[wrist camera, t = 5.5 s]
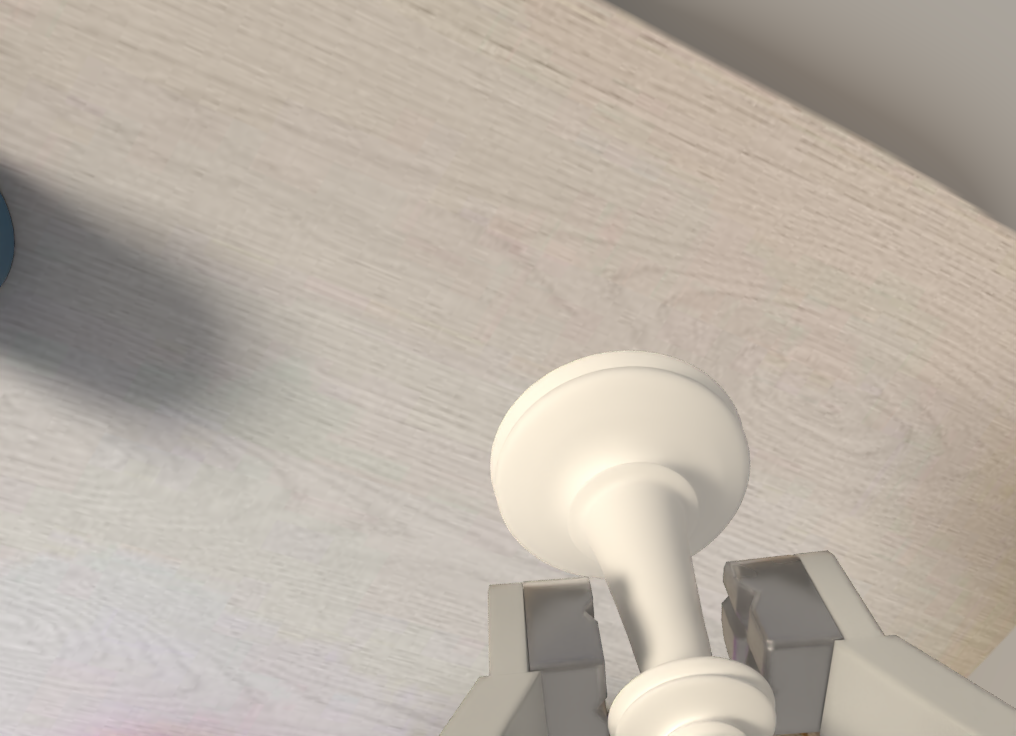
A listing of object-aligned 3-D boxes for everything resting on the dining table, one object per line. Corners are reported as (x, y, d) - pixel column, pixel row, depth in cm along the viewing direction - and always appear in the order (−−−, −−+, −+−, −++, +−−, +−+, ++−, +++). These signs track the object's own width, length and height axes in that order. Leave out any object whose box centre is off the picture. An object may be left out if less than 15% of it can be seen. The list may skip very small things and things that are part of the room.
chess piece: (701, 568, 16) (997, 1334, 7) (473, 546, 15) (471, 1345, 6) (778, 367, 13) (1370, 1122, 5) (513, 332, 13) (597, 1113, 4)
